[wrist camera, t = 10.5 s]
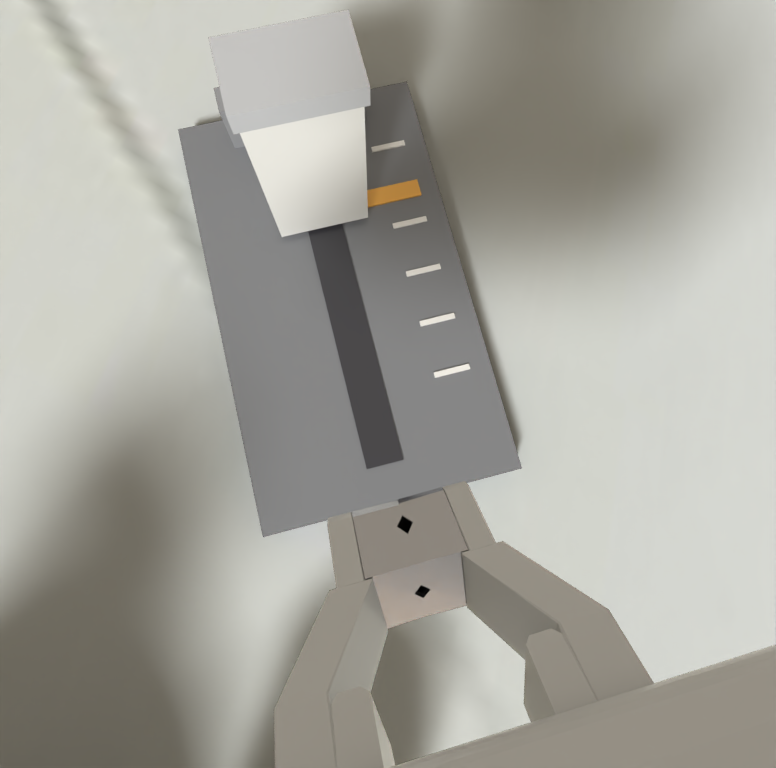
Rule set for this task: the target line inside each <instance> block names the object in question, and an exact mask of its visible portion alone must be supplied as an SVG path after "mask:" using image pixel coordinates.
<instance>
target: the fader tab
mask: <svg viewBox="0 0 776 768" xmlns="http://www.w3.org/2000/svg"><path fill="white" fill-rule="evenodd" d="M208 39H209V43H210V48H211V52H212V56H213V61H214V65H215V70H216V74H217V78H218V83H219V87H220V92H221V96H222V100H223V105H224V109H225V114H226V117H227V120H228V122H229V124H230V127H231V129H232V131H233V134H238V133H240V135H241V138H242V140H243V143H244V145H245V147H246V150H247V152H248V155H249V157H250V160H251V162H252V165H253V167H254V170H255V172H256V175H257V177H258V180H259V182H260V184H261V187H262V189H263V192H264V194H265V197H266V199H267V202H268V204H269V207H270V209H271V212H272V214H273V217H274V219H275V221H276V224H277V226H278V229H279V231H280V234H281V236H282V237H284V236H289V235H293V234H298V233H302V232H306V231H311V230H315V229H320V228H324V227H328V226H333V225H337V224H342V223H346V222H350V221H355V220H359V219H364V218H368V199H367V169H366V139H365V109H364V107H366V106H370V84H369V80H368V77H367V73H366V69H365V66H364V62H363V59H362V55H361V52H360V48H359V45H358V41H357V38H356V34H355V31H354V27H353V24H352V20H351V17H350V13H349V10H343V11H338V12H333V13H328V14H323V15H318V16H313V17H308V18H303V19H298V20H293V21H288V22H283V23H278V24H273V25H268V26H263V27H258V28H253V29H247V30H242V31H237V32H232V33H227V34H222V35H217V36H212V37H208Z"/></svg>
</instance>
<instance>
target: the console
mask: <svg viewBox="0 0 776 768" xmlns="http://www.w3.org/2000/svg"><path fill="white" fill-rule="evenodd" d="M214 92H215V96H216V101H217V105H218V110H219V113H220V115H221V118H222V120H221V121H217V122H212V123H207V124H202V125H197V126H193V127H188V128H183V129H178V131H179V136H180V141H181V146H182V150H183V155H184V160H185V165H186V170H187V174H188V179H189V184H190V189H191V194H192V199H193V203H194V208H195V213H196V218H197V223H198V227H199V232H200V237H201V242H202V247H203V251H204V256H205V261H206V266H207V271H208V275H209V280H210V285H211V290H212V295H213V299H214V304H215V309H216V314H217V319H218V323H219V328H220V333H221V338H222V343H223V347H224V352H225V357H226V362H227V367H228V372H229V376H230V381H231V386H232V391H233V396H234V400H235V405H236V410H237V415H238V420H239V424H240V429H241V434H242V439H243V444H244V448H245V453H246V458H247V463H248V468H249V472H250V477H251V482H252V487H253V492H254V496H255V501H256V506H257V511H258V516H259V520H260V525H261V530H262V535H263V537H265V536H269V535H273V534H277V533H280V532H284V531H288V530H292V529H295V528H299V527H303V526H307V525H310V524H314V523H318V522H322V521H325V520H328V518H329V517H333V516H337V515H341V514H345V513H349V512H352V511H356V510H360V509H364V508H368V507H372V506H376V505H380V504H385V503H389V502H393V501H397V499H401V498H404V497H408V496H411V495H415V494H418V493H422V492H425V491H429V490H432V489H436V488H439V487H441V488H442V487H445V486H448V485H452V484H456V483H459V482H463V481H465V482H466V483H468V482H472V481H476V480H480V479H483V478H487V477H491V476H495V475H498V474H502V473H506V472H510V471H514V470H517V469H521V468H522V467H521V464H520V460H519V457H518V454H517V450H516V447H515V443H514V440H513V437H512V433H511V430H510V427H509V423H508V420H507V417H506V413H505V410H504V407H503V403H502V400H501V396H500V393H499V390H498V386H497V383H496V380H495V376H494V373H493V370H492V366H491V363H490V360H489V356H488V353H487V349H486V346H485V343H484V339H483V336H482V333H481V329H480V326H479V323H478V319H477V316H476V312H475V309H474V306H473V302H472V299H471V296H470V292H469V289H468V286H467V282H466V279H465V276H464V272H463V269H462V265H461V262H460V259H459V255H458V252H457V249H456V245H455V242H454V239H453V235H452V232H451V229H450V225H449V222H448V218H447V215H446V212H445V208H444V205H443V202H442V198H441V195H440V192H439V188H438V185H437V182H436V178H435V175H434V171H433V168H432V165H431V161H430V158H429V155H428V151H427V148H426V145H425V141H424V138H423V134H422V131H421V128H420V124H419V121H418V118H417V114H416V111H415V108H414V104H413V101H412V98H411V94H410V91H409V87H408V84H407V82H402V83H398V84H393V85H388V86H383V87H379V88H374V89H370V106H366V107H364V109H365V139H366V169H367V199H368V218H364V219H359V220H355V221H350V222H346V223H342V224H337V225H333V226H328V227H324V228H320V229H315V230H311V231H306V232H302V233H298V234H293V235H289V236H284V237H282V236H281V234H280V231H279V229H278V226H277V224H276V221H275V219H274V217H273V214H272V212H271V209H270V207H269V204H268V202H267V199H266V197H265V194H264V192H263V189H262V187H261V184H260V182H259V180H258V177H257V175H256V172H255V170H254V167H253V165H252V162H251V160H250V157H249V155H248V152H247V150H246V147H245V145H244V143H243V140H242V138H241V135H240V133H238V134H233V131H232V129H231V127H230V124H229V122H228V120H227V117H226V114H225V109H224V105H223V100H222V96H221V92H220V87H217V88H214Z"/></svg>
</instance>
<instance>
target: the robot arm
mask: <svg viewBox="0 0 776 768" xmlns="http://www.w3.org/2000/svg"><path fill="white" fill-rule="evenodd" d="M327 526H328V533H329V540H330V547H331V554H332V561H333V568H334V575H335V582H336V588H335V589H332V590H329V592H328V594H327V596H326V599H325V601H324V603H323V605H322V607H321V609H320V611H319V614H318V616H317V618H316V620H315V622H314V624H313V627H312V629H311V631H310V633H309V635H308V637H307V639H306V642H305V644H304V646H303V648H302V650H301V652H300V654H299V657H298V659H297V661H296V663H295V665H294V667H293V670H292V672H291V674H290V676H289V678H288V680H287V682H286V685H285V687H284V689H283V691H282V693H281V695H280V698H279V700H278V702H277V704H276V706H275V708H274V740H275V768H776V645H773V646H770V647H767V648H764V649H761V650H757V651H754V652H751V653H748V654H745V655H742V656H739V657H735V658H732V659H729V660H726V661H723V662H720V663H716V664H713V665H710V666H707V667H704V668H701V669H698V670H694V671H691V672H688V673H685V674H682V675H679V676H676V677H672V678H669V679H666V680H663V681H660V682H657V683H653V681H652V679H651V678H650V676H649V674H648V673H647V671H646V669H645V668H644V666H643V665H642V663H641V661H640V660H639V658H638V656H637V655H636V653H635V652H634V650H633V648H632V647H631V645H630V643H629V642H628V640H627V638H626V637H625V635H624V634H623V632H622V630H621V629H620V627H619V625H618V624H617V622H616V621H615V619H614V617H613V616H612V614H611V612H610V611H609V609H607V608H606V607H604V606H602V605H601V604H599V603H598V602H596V601H595V600H593V599H592V598H590V597H589V596H587V595H585V594H584V593H582V592H581V591H579V590H578V589H576V588H575V587H573V586H571V585H570V584H568V583H567V582H565V581H564V580H562V579H561V578H559V577H558V576H556V575H554V574H553V573H551V572H550V571H548V570H547V569H545V568H544V567H542V566H541V565H539V564H537V563H536V562H534V561H533V560H531V559H530V558H528V557H527V556H525V555H523V554H522V553H520V552H519V551H517V550H516V549H514V548H513V547H511V546H510V545H508V544H506V543H505V542H503V541H502V542H498V543H496V542H495V540H494V538H493V536H492V534H491V531H490V529H489V527H488V525H487V523H486V521H485V519H484V517H483V515H482V512H481V510H480V508H479V506H478V504H477V502H476V500H475V498H474V496H473V494H472V491H471V489H470V487H469V485H468V484H467V483H466V482H465V481H463V482H459V483H456V484H452V485H448V486H445V487H442V488H441V487H439V488H436V489H432V490H429V491H425V492H422V493H418V494H415V495H411V496H408V497H404V498H401V499H397V501H393V502H389V503H385V504H380V505H376V506H372V507H368V508H364V509H360V510H356V511H352V512H349V513H345V514H341V515H337V516H333V517H329V518H328V524H327ZM463 606H467V608H468V609H469V610H471V611H472V612H473V613H474V614H475V615H476V616H477V617H478V618H479V619H481V620H482V621H483V622H484V623H485V624H486V625H487V626H488V627H489V628H491V629H492V630H493V631H494V632H495V633H496V634H497V635H498V636H499V637H500V638H502V639H503V640H504V641H505V642H506V643H507V644H508V645H509V646H510V647H512V648H513V649H514V650H515V651H516V652H517V653H518V654H519V655H520V656H521V657H523V658H524V659H525V684H524V706H525V708H526V711H527V714H528V716H529V719H530V721H531V723H527V724H524V725H521V726H518V727H515V728H512V729H508V730H505V731H502V732H499V733H496V734H493V735H490V736H486V737H483V738H480V739H477V740H474V741H471V742H468V743H464V744H461V745H458V746H455V747H452V748H449V749H445V750H442V751H439V752H436V753H433V754H430V755H427V756H423V757H420V758H417V759H414V760H411V761H408V762H404V763H401V764H398V765H395V762H394V757H393V752H392V747H391V744H390V742H389V739H388V736H387V734H386V731H385V729H384V726H383V724H382V721H381V718H380V716H379V713H378V711H377V708H376V706H375V703H374V700H373V698H372V695H371V690H372V686H373V683H374V679H375V676H376V672H377V669H378V665H379V662H380V658H381V655H382V651H383V648H384V645H385V641H386V638H387V634H388V629H389V628H392V627H395V626H398V625H401V624H404V623H407V622H410V621H413V620H416V619H419V618H423V617H426V616H429V615H433V614H437V613H441V612H444V611H448V610H452V609H456V608H460V607H463Z"/></svg>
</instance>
